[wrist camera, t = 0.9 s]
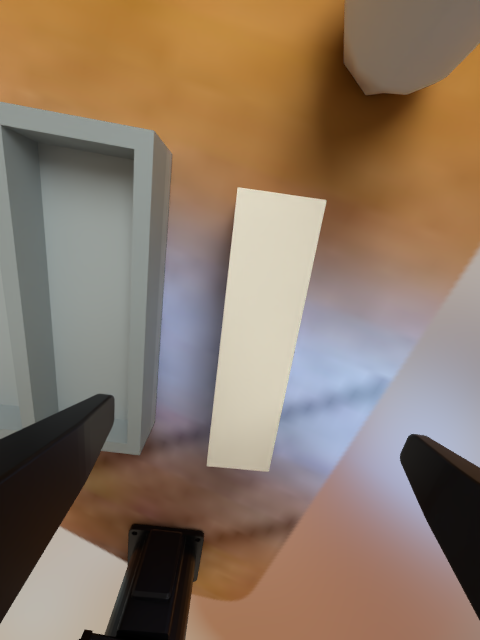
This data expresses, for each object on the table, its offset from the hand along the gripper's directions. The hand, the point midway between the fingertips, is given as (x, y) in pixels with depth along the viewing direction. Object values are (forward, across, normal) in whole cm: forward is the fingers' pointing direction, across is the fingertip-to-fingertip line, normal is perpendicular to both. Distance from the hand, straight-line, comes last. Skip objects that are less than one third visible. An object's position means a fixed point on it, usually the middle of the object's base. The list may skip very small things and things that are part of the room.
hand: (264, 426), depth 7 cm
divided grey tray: (+9, +12, 0) cm, 16 cm away
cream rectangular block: (+10, 0, 0) cm, 10 cm away
